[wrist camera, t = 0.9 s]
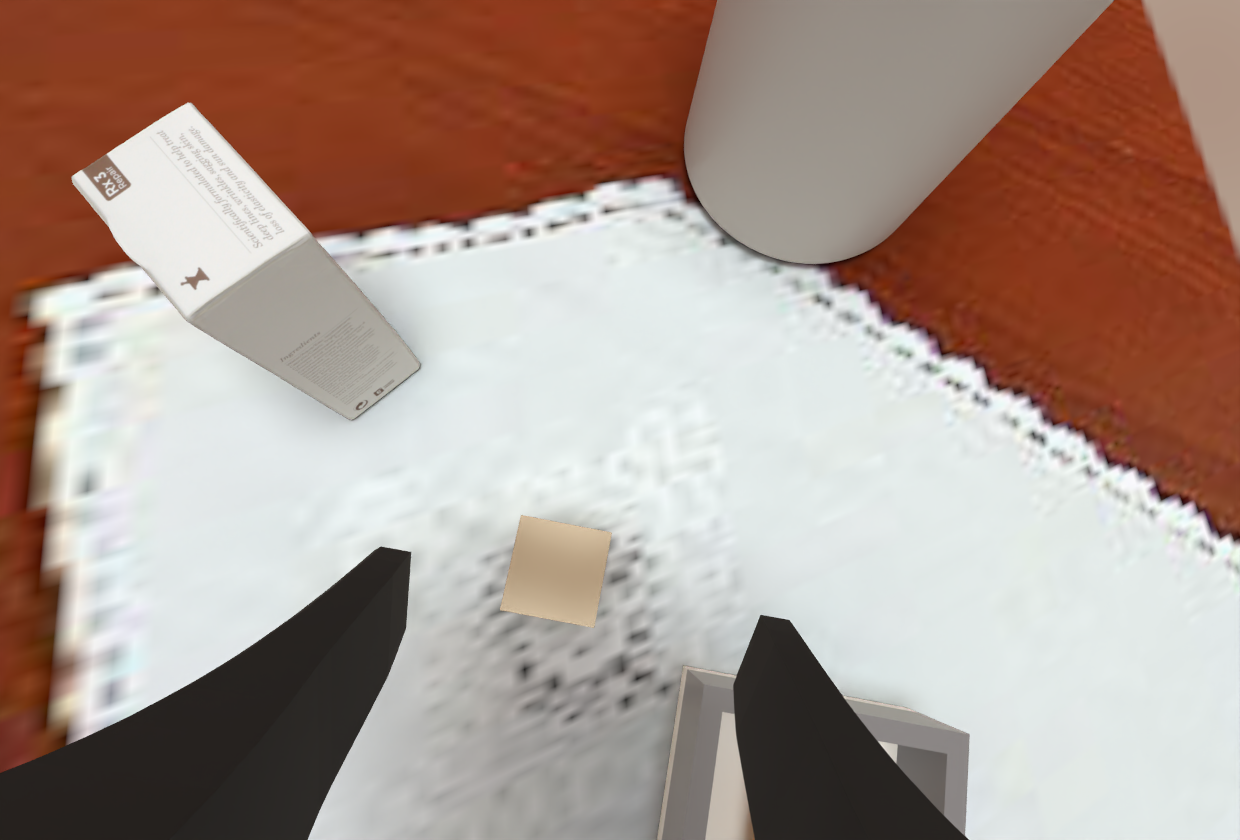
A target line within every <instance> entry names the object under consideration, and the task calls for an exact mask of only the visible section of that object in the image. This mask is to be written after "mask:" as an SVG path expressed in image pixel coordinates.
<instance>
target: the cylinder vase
mask: <svg viewBox="0 0 1240 840" xmlns="http://www.w3.org/2000/svg"><path fill="white" fill-rule="evenodd" d="M1113 1H1114V0H717V4H716V8H715V12H714V16H713V20H712V24H711V28H710V32H709V36H708V40H707V44H706V48H705V52H704V56H703V60H702V64H701V68H700V72H699V76H698V80H697V84H696V88H695V92H694V96H693V100H692V104H691V108H690V112H689V116H688V120H687V124H686V129H685V136H684V155H685V163H686V168H687V172H688V175H689V179H690V182H691V184H692V187H693V189H694V191H695V193H696V195H697V197H698V199H699V200H700V202H701V204H702V205H703V207H704V208H705V210H706V211H707V212H708V214H709V215H710V216H711V217H712V218H713V220H714V221H715V222H716V223H717V224H718V225H719V226H720V227H721V228H722V229H723V230H725V231H726V232H727V233H728V234H729V235H731V236H732V237H733V238H735V239H736V240H738V241H739V242H741V243H742V244H744V245H745V246H747V247H749V248H751V249H753V250H755V251H757V252H759V253H762V254H764V255H767V256H770V257H773V258H776V259H780V260H784V261H789V262H795V263H805V264H821V263H831V262H837V261H841V260H845V259H849V258H852V257H855V256H857V255H860V254H862V253H864V252H866V251H868V250H870V249H872V248H874V247H875V246H877V245H878V244H880V243H881V242H883V241H884V240H885V239H886V238H888V237H889V236H890V235H891V234H892V233H893V232H894V231H895V230H896V229H897V228H898V227H899V226H900V225H901V224H902V223H903V222H904V221H905V220H906V219H907V217H908V216H909V215H910V214H911V213H912V212H913V211H914V210H915V209H916V208H917V207H918V206H919V205H920V204H921V203H922V202H923V201H924V200H925V199H926V198H927V196H928V195H929V194H930V193H931V192H932V191H933V190H934V189H935V188H936V187H937V186H938V185H939V184H940V183H941V182H942V181H943V180H944V179H945V178H946V176H947V175H948V174H949V173H950V172H951V171H952V170H953V169H954V168H955V167H956V166H957V165H958V164H959V163H960V162H961V161H962V160H963V159H964V158H965V156H966V155H967V154H968V153H969V152H970V151H971V150H972V149H973V148H974V147H975V146H976V145H977V144H978V143H979V142H980V141H981V140H982V139H983V138H984V136H985V135H986V134H987V133H988V132H989V131H990V130H991V129H992V128H993V127H994V126H995V125H996V124H997V123H998V122H999V121H1000V120H1001V119H1002V118H1003V117H1004V115H1005V114H1006V113H1007V112H1008V111H1009V110H1010V109H1011V108H1012V107H1013V106H1014V105H1015V104H1016V103H1017V102H1018V101H1019V100H1020V99H1021V98H1022V97H1023V95H1024V94H1025V93H1026V92H1027V91H1028V90H1029V89H1030V88H1031V87H1032V86H1033V85H1034V84H1035V83H1036V82H1037V81H1038V80H1039V79H1040V78H1041V77H1042V75H1043V74H1044V73H1045V72H1046V71H1047V70H1048V69H1049V68H1050V67H1051V66H1052V65H1053V64H1054V63H1055V62H1056V61H1057V60H1058V59H1059V58H1060V57H1061V55H1062V54H1063V53H1064V52H1065V51H1066V50H1067V49H1068V48H1069V47H1070V46H1071V45H1072V44H1073V43H1074V42H1075V41H1076V40H1077V39H1078V38H1079V37H1080V36H1081V34H1082V33H1083V32H1084V31H1085V30H1086V29H1087V28H1088V27H1089V26H1090V25H1091V24H1092V23H1093V22H1094V21H1095V20H1096V19H1097V18H1098V17H1099V16H1100V14H1101V13H1102V12H1103V11H1104V10H1105V9H1106V8H1107V7H1108V6H1109V5H1110V4H1111V3H1112V2H1113Z"/></svg>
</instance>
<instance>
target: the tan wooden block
mask: <svg viewBox="0 0 1240 840" xmlns="http://www.w3.org/2000/svg"><path fill="white" fill-rule="evenodd" d="M611 534H612V533H611V532H606V531H601V530H596V529H590V528H585V527H580V526H575V525H570V524H565V523H559V522H554V521H549V520H544V519H539V518H534V517H528V516H523V515H521V518H520V522H519V527H518V531H517V536H516V540H515V545H514V549H513V554H512V558H511V563H510V567H509V572H508V576H507V581H506V585H505V590H504V594H503V598H502V603H501V607H500V610H502V611H508V612H513V613H518V614H523V615H529V616H534V617H539V618H545V619H550V620H555V621H560V622H566V623H571V624H576V625H582V626H587V627H592V628H594V625H595V620H596V615H597V609H598V604H599V599H600V593H601V588H602V583H603V577H604V572H605V567H606V561H607V556H608V551H609V545H610V540H611Z"/></svg>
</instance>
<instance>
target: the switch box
mask: <svg viewBox="0 0 1240 840" xmlns="http://www.w3.org/2000/svg"><path fill="white" fill-rule="evenodd" d="M735 679H736V675H731V674H726V673H720V672H715V671H710V670H704V669H699V668H694V667H689V666H683V671H682V677H681V684H680V690H679V697H678V704H677V710H676V717H675V723H674V730H673V737H672V743H671V750H670V756H669V763H668V770H667V776H666V783H665V789H664V796H663V803H662V809H661V816H660V822H659V829H658V836H657V840H753V827H752V821H751V816H750V811H749V805H748V800H747V794H746V789H745V783H744V778H743V772H742V767H741V761H740V755H739V750H738V744H737V738H736V728H735V714H734V693H733V684H734V681H735ZM843 697H844V698H845V700H846V701H847V703H848V704H849V705H850V707H851V708H852V709H853V711H854V712H855V713H856V714H857V716H858V717H859V718H860V720H861V721H862V722H863V724H864V725H865V726H866V727H867V729H868V730H869V731H870V732H871V734H872V735H873V736H874V737H875V739H876V740H877V741H878V742H879V743H880V745H881V746H882V747H883V748H884V750H885V751H886V752H887V753H888V754H889V756H890V757H891V758H892V759H893V760H894V762H895V763H896V764H897V765H898V766H899V767H900V769H901V770H902V771H903V772H904V773H905V774H906V775H907V776H908V778H909V779H910V780H911V781H912V782H913V783H914V784H915V785H916V786H917V787H918V788H919V789H920V791H921V792H922V793H923V794H924V795H925V796H926V797H927V798H928V799H929V800H930V801H931V803H932V804H933V805H934V806H935V807H936V808H937V809H938V810H939V811H940V812H941V813H942V814H943V815H944V816H945V817H946V818H947V819H948V820H949V821H950V822H951V823H952V824H953V825H954V826H955V827H956V828H957V829H958V830H959V831H960V832H961V833H962V834H963V835H964V836H965V823H966V801H967V779H968V757H969V735H970V734H968V733H965V732H963V731H961V730H958V729H956V728H953V727H951V726H949V725H946V724H944V723H942V722H939V721H937V720H935V719H932V718H930V717H927V716H925V715H923V714H920V713H918V712H916V711H913V710H911V709H908V708H906V707H901V706H895V705H890V704H885V703H879V702H874V701H869V700H863V699H858V698H853V697H848V696H843Z"/></svg>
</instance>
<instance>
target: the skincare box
mask: <svg viewBox="0 0 1240 840" xmlns="http://www.w3.org/2000/svg"><path fill="white" fill-rule="evenodd" d="M72 182H73V184H74V186H75V187H76V188H77V189H78V190H79V191H80V192H81V194H82V195H83V196H84V197H85V199H86V200H87V201H88V202H89V203H90V205H91V206H92V207H93V208H94V210H95V211H96V212H97V213H98V214H99V216H100V217H101V218H102V219H103V221H104V222H105V223H106V224H107V225H108V227H109V228H110V230H111V232H112V234H113V236H114V238H115V240H116V241H117V242H118V244H119V245H120V246H121V248H122V249H123V250H124V251H125V253H126V254H127V255H128V256H129V257H130V258H131V259H132V260H133V261H134V262H136V263H137V264H138V265H140V266H141V267H142V269H143V270H144V271H145V272H146V273H147V275H148V276H149V277H150V278H151V279H152V281H153V282H154V283H155V284H156V285H157V287H158V288H159V289H160V290H161V291H162V293H163V294H164V295H165V296H166V298H167V299H168V300H169V301H170V302H171V303H172V304H173V306H174V307H175V308H176V309H177V310H178V312H179V313H180V314H181V315H182V316H183V318H184V319H185V320H186V321H187V322H189V323H190V324H192V325H193V326H195V327H196V328H198V329H200V330H202V331H203V332H205V333H207V334H208V335H210V336H211V337H213V338H214V339H216V340H218V341H219V342H221V343H223V344H224V345H226V346H228V347H229V348H231V349H233V350H234V351H236V352H238V353H239V354H241V355H243V356H245V357H246V358H248V359H250V360H251V361H253V362H255V363H256V364H258V365H260V366H261V367H263V368H265V369H266V370H268V371H270V372H272V373H273V374H275V375H276V376H278V377H280V378H281V379H283V380H284V381H286V382H288V383H289V384H291V385H292V386H294V387H296V388H297V389H299V390H301V391H302V392H304V393H305V394H307V395H309V396H311V397H312V398H314V399H316V400H317V401H319V402H320V403H322V404H324V405H325V406H327V407H328V408H330V409H332V410H334V411H335V412H337V413H339V414H340V415H342V416H343V417H345V418H347V419H349V420H353V419H354V418H356V417H357V416H358V415H360V414H361V413H362V412H364V411H365V410H366V409H367V408H369V407H370V406H371V405H373V404H374V403H376V402H377V401H378V400H380V399H381V398H382V397H383V396H385V395H386V394H387V393H388V392H390V391H391V390H393V389H394V388H395V387H396V386H398V385H399V384H400V383H402V382H403V381H404V380H405V379H406V378H408V377H409V376H410V375H411V374H413V373H414V372H415V371H417V370H418V369H419V366H420V363H419V361H418V360H417V358H416V357H415V356H414V354H413V353H412V352H411V350H410V349H409V348H408V346H407V345H406V344H405V343H404V341H403V340H402V339H401V338H400V336H399V335H398V334H397V333H396V331H395V330H394V329H393V328H392V327H391V325H390V324H389V323H388V322H387V321H386V319H385V318H384V317H383V316H382V315H381V314H380V312H379V311H378V310H377V309H376V308H375V306H374V305H373V304H372V303H371V302H370V301H369V300H368V298H367V297H366V296H365V295H364V294H363V293H362V291H361V290H360V289H359V288H358V287H357V286H356V284H355V283H354V282H353V281H352V280H351V279H350V278H349V276H348V275H347V274H346V273H345V272H344V271H343V270H342V268H341V267H340V266H339V265H338V264H337V263H336V262H335V260H334V259H333V258H332V257H331V256H330V255H329V254H328V253H327V251H326V250H325V249H324V248H323V247H322V246H321V245H320V244H319V243H318V242H317V240H316V239H315V238H314V237H313V236H312V234H311V233H310V231H309V230H308V229H307V228H306V227H305V226H304V225H303V224H302V223H301V221H300V220H299V219H298V218H297V217H296V216H295V215H294V214H293V213H292V212H291V211H290V210H289V208H288V207H287V206H286V205H285V204H284V203H283V202H282V201H281V200H280V199H279V198H278V196H277V195H276V194H275V193H274V192H273V191H272V190H271V189H270V188H269V187H268V185H267V184H266V183H265V182H264V181H263V180H262V179H261V178H260V177H259V176H258V174H257V173H256V172H255V171H254V170H253V169H252V168H251V167H250V166H249V165H248V164H247V162H246V161H245V160H244V159H243V158H242V157H241V156H240V155H239V154H238V153H237V152H236V150H235V149H234V148H233V147H232V146H231V145H230V144H229V143H228V142H227V141H226V140H225V139H224V137H223V136H222V135H221V134H220V133H219V132H218V131H217V130H216V129H215V128H214V127H213V126H212V125H211V123H210V122H209V121H208V120H207V119H206V118H205V117H204V116H203V115H202V114H201V113H200V112H199V111H198V110H197V108H196V107H195V106H194V105H193V104H192V103H187V104H185V105H183V106H181V107H180V108H178V109H176V110H174V111H173V112H171V113H169V114H168V115H166V116H164V117H163V118H161V119H160V120H158V121H156V122H155V123H153V124H152V125H150V126H149V127H147V128H146V129H144V130H142V131H141V132H139V133H138V134H136V135H135V136H133V137H132V138H130V139H129V140H127V141H126V142H124V143H123V144H121V145H119V146H118V147H116V148H115V149H113V150H112V151H110V152H109V153H107V154H106V155H104V156H103V157H101V158H100V159H98V160H97V161H95V162H94V163H92V164H91V165H89V166H88V167H86V168H85V169H83V170H81V171H79V172H77V173H76V174H74V175H73V176H72Z"/></svg>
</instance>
